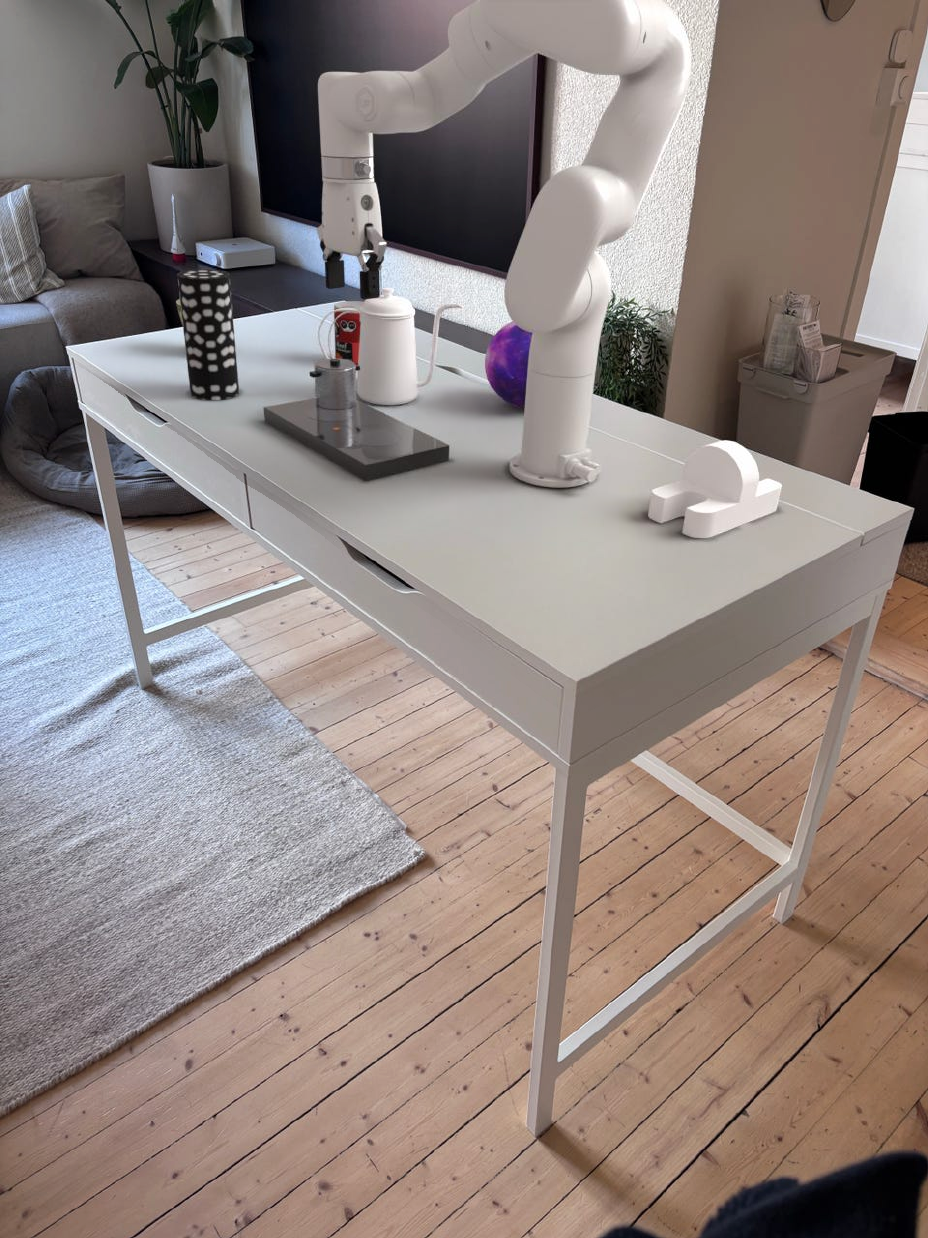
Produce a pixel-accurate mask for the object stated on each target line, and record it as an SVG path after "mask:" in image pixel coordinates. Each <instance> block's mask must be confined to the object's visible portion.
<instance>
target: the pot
mask: <svg viewBox="0 0 928 1238" xmlns="http://www.w3.org/2000/svg"><path fill="white" fill-rule="evenodd" d="M358 370H360V366H359V365H355V364H354V363H353V362H352V361H349V360H345V359H332V358H330V359H326V358H324V359H321V360H317V361H316V362H315V363H314V371H309V377H311V378H313V379H314V387H315V388H314V389H315V398H316V405H317V406H319V407H321V408H325V409H333V410H340V409H348V408H351V407H354V406H355V405H356V400H357V389H356V379H357V374H356V373H357V372H358Z"/></svg>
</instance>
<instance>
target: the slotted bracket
mask: <svg viewBox="0 0 928 1238" xmlns="http://www.w3.org/2000/svg"><path fill="white" fill-rule="evenodd" d="M782 488H783V485H782V483H780V482H779V481H776V480H774V479H771V478H764V479H762V480H760V473H759V469H758V464H757V462H756V460H755V458H754V456H753V454H751V452H750V451H748V449H747V448H746V447H745V446H743V445H741V444H739V443H738V442H736V441H732V440H726V439H725V440H720V441H716V442H712V443H709V444H706V445H702V446H699V447H698V448H696V449H695V450H693V451H691V452H690V453H689V455H688V456H687V458H686V459H685V462H684V465H683V470H682V476H681V479H679V480H677V481H673V482H671V483H667V484H665V485H661V486H658V487H656V488H653V489H652V490H651V495H650V501H649V506H648V513H647V517H648V518H649V519H650V520H653V521H654V522H657V523H658V524H664V523H666V522H669V521H672V520H674V519H677V518H679V517H680V518H681V517H684V521H683V525H682V532H681V534H683V535H686V536H687V537H689V538H694V539H709V538H713V537H715V536H718V535H720V534H722V533H725V532H727V531H730V530H732V529H735V528H738V527H740V526H743V525H745V524H748V523H750V522H753V521H755V520H758V519H761V518H763V517H765V516H768V515H770V514H772V513H775V512H776V511H777V510H778V505H779V502H780V501H779V500H780V496H781V491H782Z"/></svg>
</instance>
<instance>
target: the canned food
mask: <svg viewBox="0 0 928 1238" xmlns="http://www.w3.org/2000/svg"><path fill="white" fill-rule="evenodd" d="M363 303H364V301H360V300H347V301H346V300H345V301H340V302H336V303H335V304H334V305H333V311H334V310H336V309H341V308H354V309H358V310H360V308H361V307H362V306H363ZM343 312H345V311H337V312H334V313H333V321H334V320H335V319H336V318H337V317H338V316H339V315H340V314H341V313H343ZM333 326H334V327H333V328H334V351H335V352H334V354H335V355H334V357H335V358H336V359H345V360H349V361H352V362H353V363H354V364H355V365H358V359H359V343H360V326H361V322H360V314H359V313H358V312H357V313H354V312H348V313H345V314H343V315H341V316H340V317H338V318H337V319H336V321H335V322H334V324H333Z"/></svg>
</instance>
